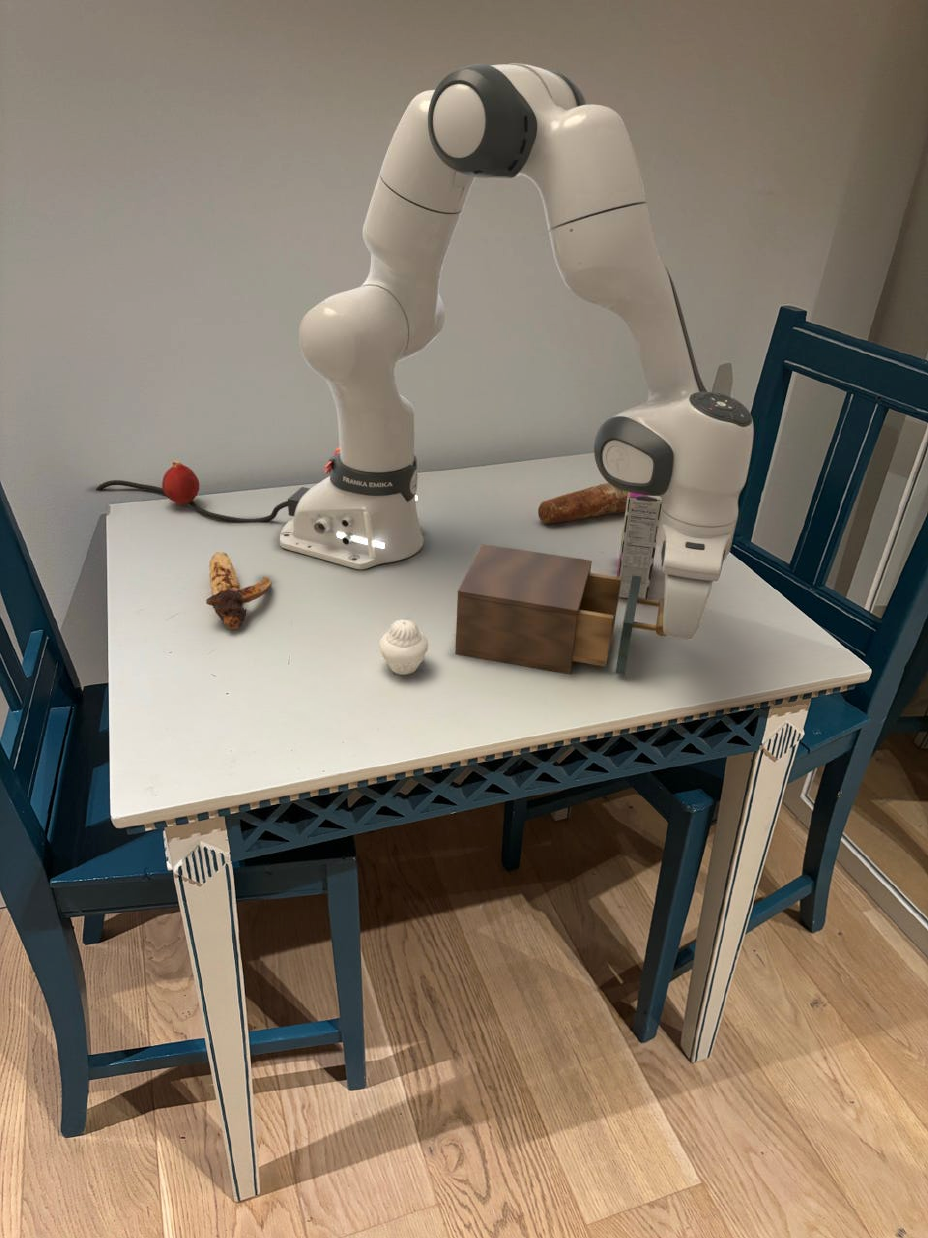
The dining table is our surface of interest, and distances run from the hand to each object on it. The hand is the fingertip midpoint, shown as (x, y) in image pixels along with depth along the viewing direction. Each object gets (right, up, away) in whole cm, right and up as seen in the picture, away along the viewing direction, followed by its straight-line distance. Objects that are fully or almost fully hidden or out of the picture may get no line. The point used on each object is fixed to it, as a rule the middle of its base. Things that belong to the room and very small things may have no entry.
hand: (675, 628), depth 114 cm
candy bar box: (-2, +7, +20) cm, 21 cm away
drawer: (-10, -2, +4) cm, 11 cm away
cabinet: (-19, -1, +6) cm, 20 cm away
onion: (-74, +20, +36) cm, 84 cm away
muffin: (-35, -5, 0) cm, 35 cm away
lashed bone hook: (-59, +4, +12) cm, 60 cm away
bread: (-6, +19, +38) cm, 43 cm away
